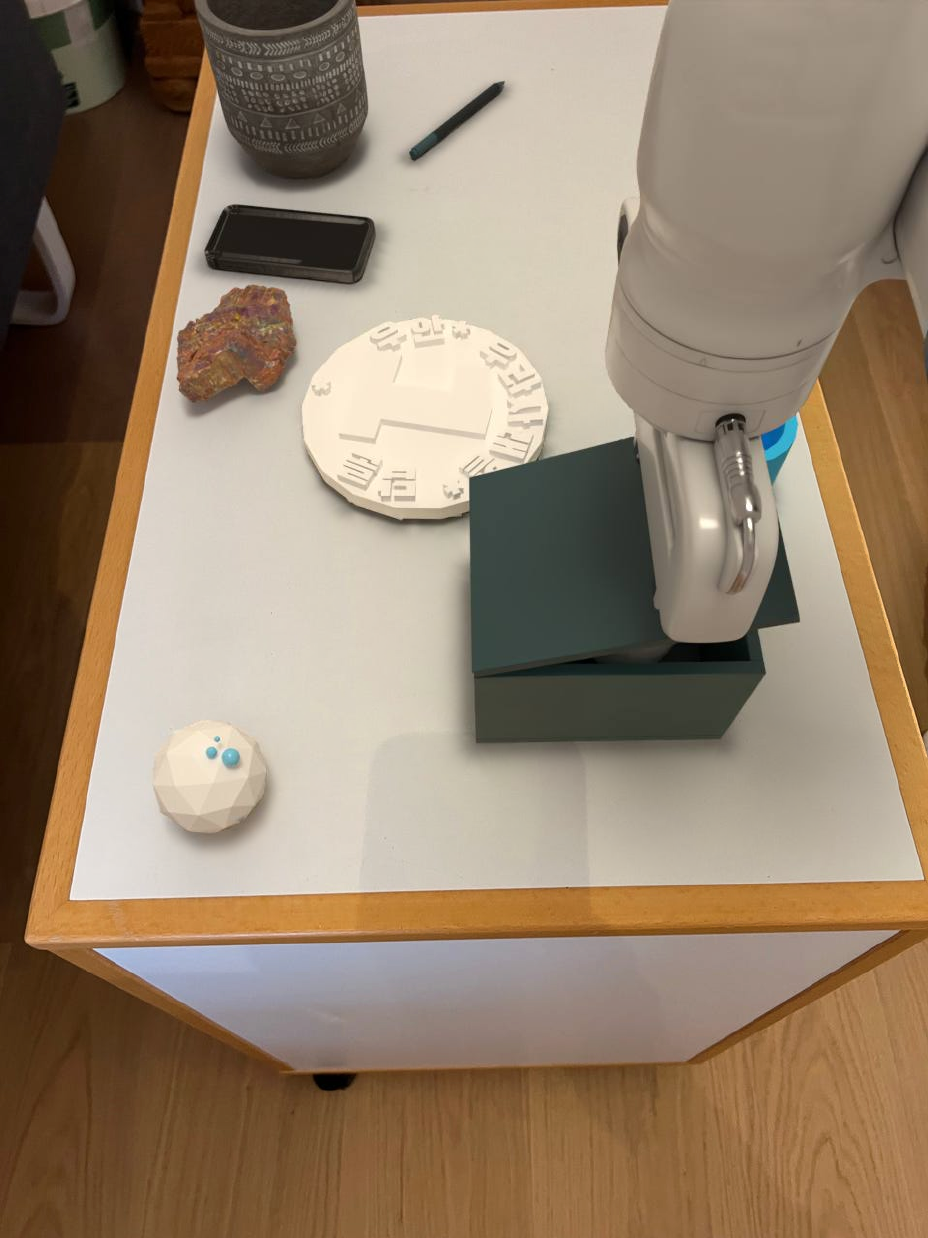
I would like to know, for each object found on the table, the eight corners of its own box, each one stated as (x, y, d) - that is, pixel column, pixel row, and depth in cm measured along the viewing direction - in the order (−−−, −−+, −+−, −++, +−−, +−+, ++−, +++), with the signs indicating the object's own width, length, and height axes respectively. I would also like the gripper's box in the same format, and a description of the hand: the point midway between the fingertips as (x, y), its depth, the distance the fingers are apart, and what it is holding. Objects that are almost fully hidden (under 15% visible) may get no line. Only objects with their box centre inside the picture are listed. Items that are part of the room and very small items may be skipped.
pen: (508, 88, 94) (508, 77, 93) (416, 162, 88) (415, 151, 87) (500, 85, 94) (500, 74, 93) (408, 158, 89) (407, 147, 88)
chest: (694, 567, 65) (729, 479, 56) (720, 739, 59) (766, 673, 49) (473, 571, 65) (470, 484, 56) (475, 743, 59) (473, 678, 49)
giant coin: (394, 308, 79) (391, 282, 76) (588, 393, 73) (591, 368, 71) (258, 460, 71) (249, 436, 68) (463, 566, 66) (462, 545, 63)
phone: (225, 202, 84) (376, 217, 83) (229, 213, 85) (378, 227, 84) (200, 258, 80) (357, 274, 79) (204, 268, 81) (359, 284, 80)
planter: (212, 179, 88) (164, 20, 75) (270, 98, 94) (235, -62, 81) (342, 206, 85) (316, 46, 72) (393, 121, 92) (377, -40, 78)
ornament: (188, 863, 56) (145, 831, 49) (163, 764, 59) (119, 721, 52) (289, 822, 57) (262, 785, 50) (259, 727, 60) (229, 680, 53)
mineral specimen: (284, 410, 71) (223, 356, 66) (220, 437, 75) (157, 388, 70) (311, 304, 76) (256, 247, 72) (249, 335, 80) (193, 283, 76)
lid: (755, 414, 50) (754, 405, 49) (800, 622, 44) (799, 615, 43) (473, 484, 56) (468, 477, 55) (476, 677, 49) (471, 672, 49)
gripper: (849, 544, 31) (746, 696, 43) (753, 172, 40) (691, 383, 53) (670, 547, 31) (618, 699, 43) (617, 176, 40) (587, 386, 53)
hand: (658, 523), depth 48 cm, fingers open, 8 cm apart
